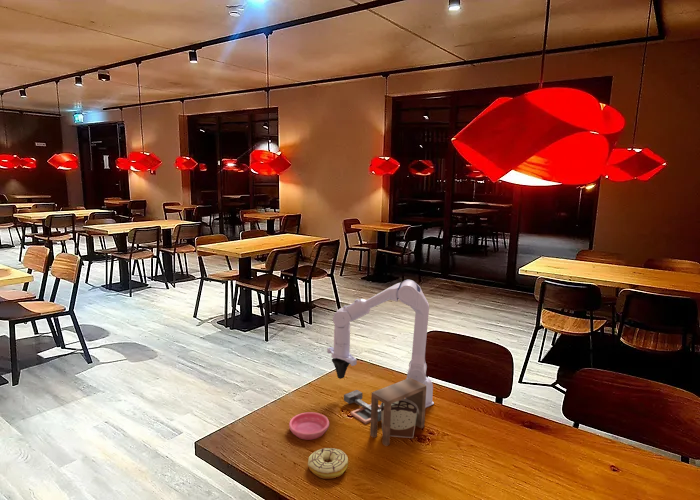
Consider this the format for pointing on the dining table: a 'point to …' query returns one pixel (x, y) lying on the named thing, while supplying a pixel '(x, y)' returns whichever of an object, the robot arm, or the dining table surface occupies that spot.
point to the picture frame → (363, 414)
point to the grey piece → (359, 401)
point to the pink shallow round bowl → (309, 425)
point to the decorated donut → (328, 463)
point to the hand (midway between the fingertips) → (341, 377)
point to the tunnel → (393, 394)
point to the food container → (402, 418)
